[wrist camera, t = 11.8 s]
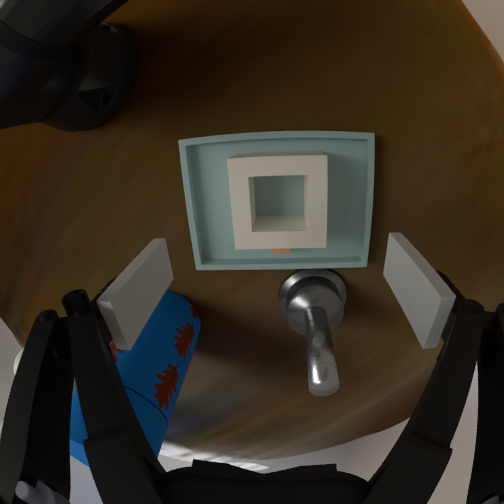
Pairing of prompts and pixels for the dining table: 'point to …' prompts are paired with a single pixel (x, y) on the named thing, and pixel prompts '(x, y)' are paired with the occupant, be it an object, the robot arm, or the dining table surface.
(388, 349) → the dining table surface
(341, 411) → the dining table surface
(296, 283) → the stake
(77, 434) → the thermos
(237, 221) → the ring
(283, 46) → the dining table surface
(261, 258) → the tray
